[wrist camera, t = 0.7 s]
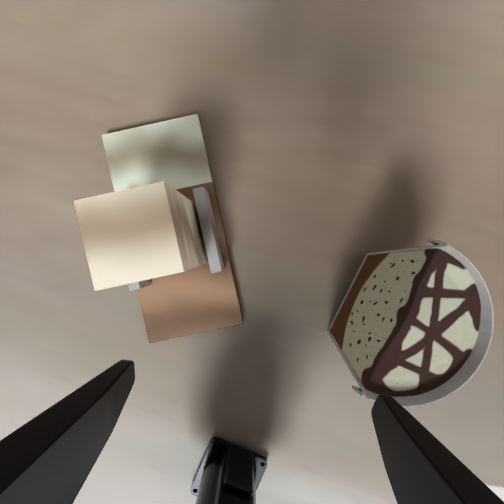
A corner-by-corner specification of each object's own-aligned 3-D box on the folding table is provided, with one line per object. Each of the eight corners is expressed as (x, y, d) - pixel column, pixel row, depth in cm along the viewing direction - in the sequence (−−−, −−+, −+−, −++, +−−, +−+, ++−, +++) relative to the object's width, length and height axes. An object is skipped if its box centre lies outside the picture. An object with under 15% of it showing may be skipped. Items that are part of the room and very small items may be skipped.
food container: (372, 368, 26) (448, 447, 16) (320, 343, 26) (364, 406, 16) (424, 265, 25) (537, 279, 15) (373, 240, 25) (451, 237, 15)
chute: (243, 321, 25) (241, 332, 22) (152, 340, 26) (137, 354, 22) (198, 117, 25) (190, 98, 22) (106, 138, 25) (84, 122, 22)
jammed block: (209, 261, 24) (183, 271, 15) (152, 274, 25) (94, 290, 16) (196, 204, 24) (163, 181, 15) (140, 217, 24) (73, 200, 15)
